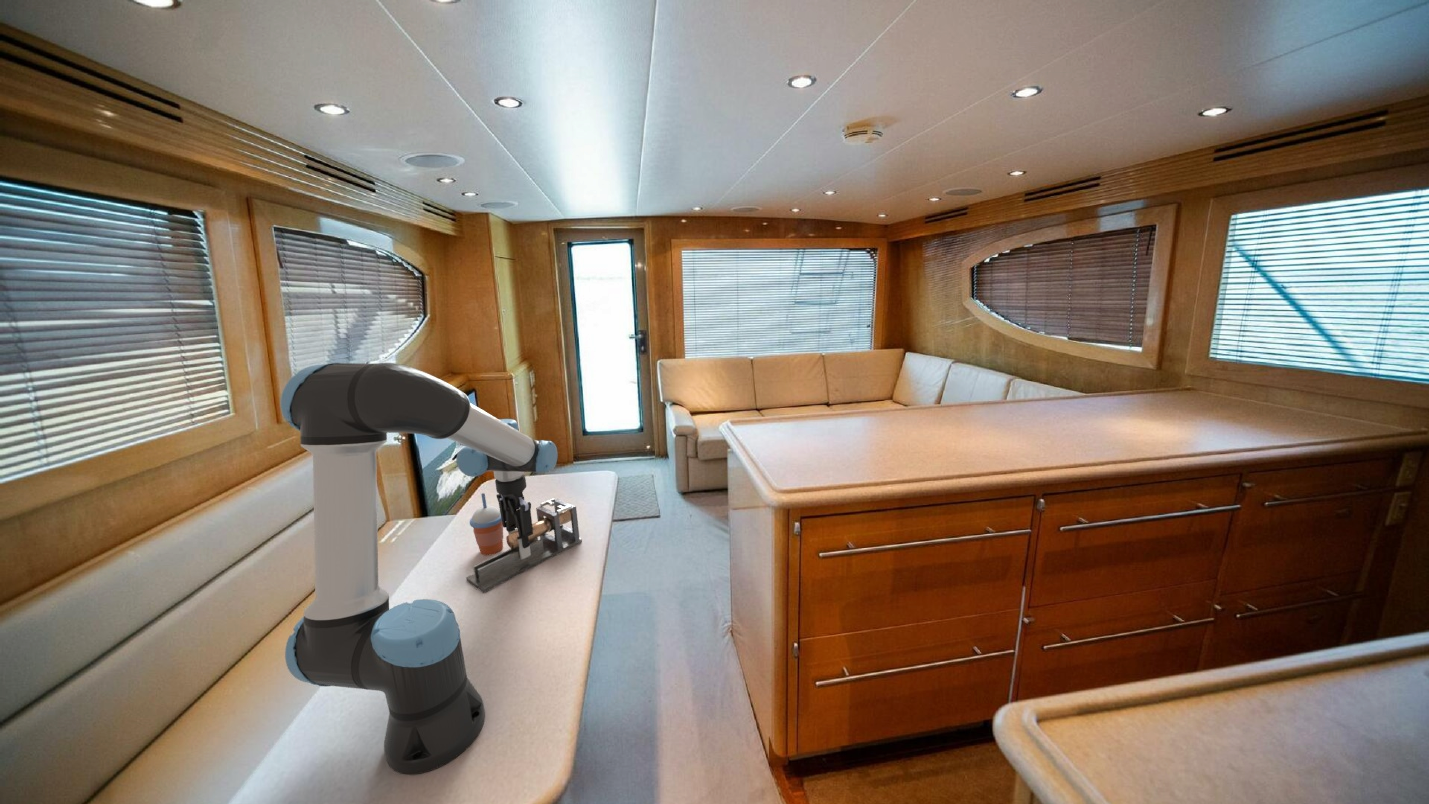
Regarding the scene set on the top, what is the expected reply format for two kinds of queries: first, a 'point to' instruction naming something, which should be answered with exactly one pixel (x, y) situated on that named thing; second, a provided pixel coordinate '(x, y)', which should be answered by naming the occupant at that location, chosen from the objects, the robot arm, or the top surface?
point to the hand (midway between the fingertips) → (521, 554)
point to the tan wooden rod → (539, 529)
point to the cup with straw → (488, 528)
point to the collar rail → (541, 550)
